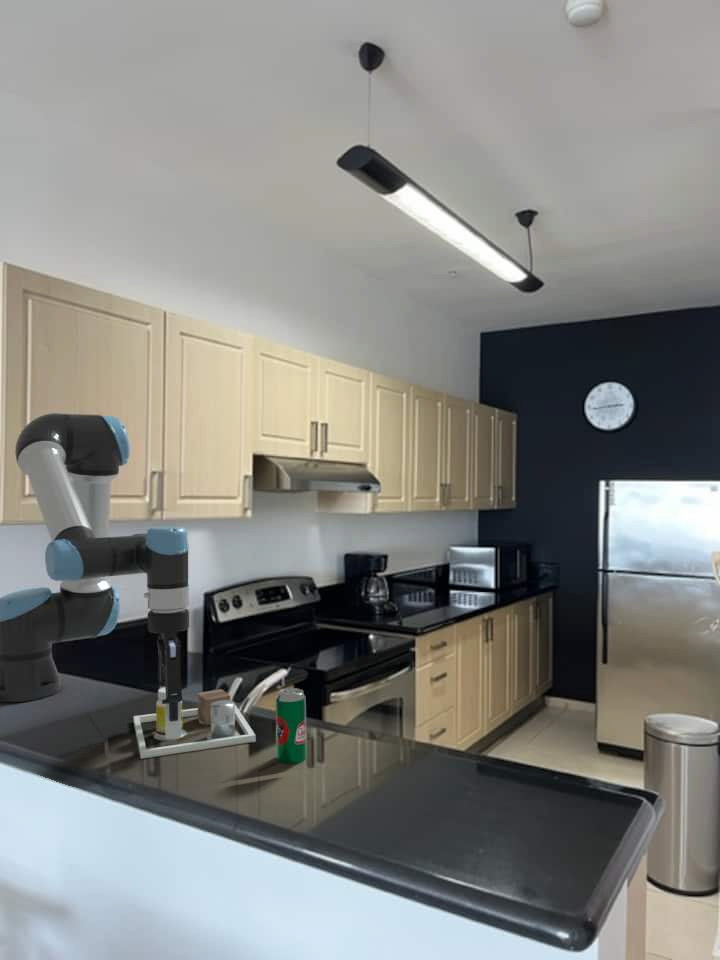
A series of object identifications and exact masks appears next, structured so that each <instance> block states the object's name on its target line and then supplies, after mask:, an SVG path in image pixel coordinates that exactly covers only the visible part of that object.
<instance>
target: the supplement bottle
mask: <svg viewBox="0 0 720 960" xmlns="http://www.w3.org/2000/svg"><path fill="white" fill-rule="evenodd" d="M172 695H177V694H172ZM157 698H158V699H157V700H156V703H155V706H156V707H155V709H156V711H155V712H156V721H155V723H156V725H155V726H156V727H155V728H156V734H157V736H158V737H160V738H165V704H162V700H165V699H166V690H165V687H164V688H161V689H160V688H159V689H158V690H157ZM182 710H183V700H182V701H181V733H182V729H183V717H182Z"/></svg>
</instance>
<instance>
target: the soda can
mask: <svg viewBox="0 0 720 960" xmlns="http://www.w3.org/2000/svg"><path fill="white" fill-rule="evenodd" d="M306 699H307V698H306V696H305V694H304V690H303V689H300V688H297V687H296V688H295V687H291V688H290V687H289V688H288V687H287V688H283V689H280V690H278V692H277V696H276V697H275V726H276V727H275V728H276V729H275V730H276V733H275V734H276V737H275V738H276V760H277V762H278V763H281V764H285V765H287V764H288V765H296V764H300V763H303V762H304V761H305V760H307V754H308V753H307V707H306V706H307V704H306V703H307V702H306Z"/></svg>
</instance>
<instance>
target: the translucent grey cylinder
mask: <svg viewBox="0 0 720 960" xmlns="http://www.w3.org/2000/svg"><path fill="white" fill-rule="evenodd" d="M235 705H236V703H235V701H233V700H231V699H230V700H220V701H215V702H213V703H211V725H210V734H211V738H212V739H219V738H226V737H233V736H235V731H236V719H235Z"/></svg>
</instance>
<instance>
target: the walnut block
mask: <svg viewBox="0 0 720 960" xmlns="http://www.w3.org/2000/svg"><path fill="white" fill-rule="evenodd" d="M220 700H230V701H231V694H229V693H228V692H227V691H225V690H223V689H222V688H221V689H220V688H219V689H215V690H209V691H202V692H198V693H197V708H198V715H197V719H198V721H199V720H201V721H202V722H203V723H204V724H203V725H205V726H211V703H213V702H215V701H220Z"/></svg>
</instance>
